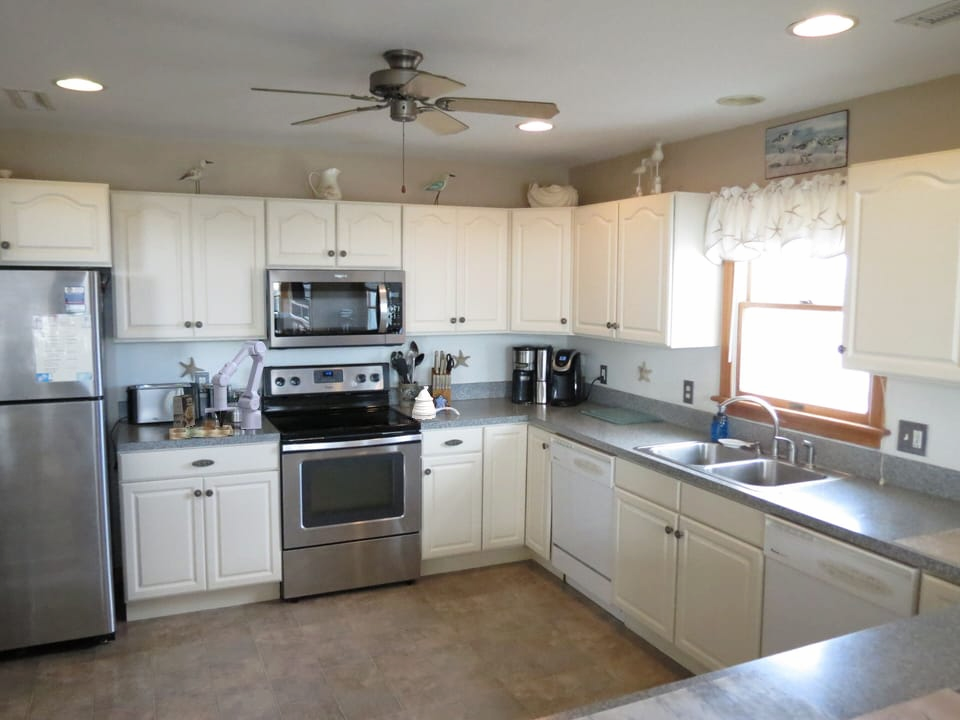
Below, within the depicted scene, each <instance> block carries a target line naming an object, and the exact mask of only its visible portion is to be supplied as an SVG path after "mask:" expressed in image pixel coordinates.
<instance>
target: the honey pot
mask: <svg viewBox="0 0 960 720" xmlns="http://www.w3.org/2000/svg"><path fill="white" fill-rule="evenodd" d="M423 388H424V389H422V390H421V391H419V393H418V395H417V397H414V400H415V401H414V404H413V409H412V410H411V419H412V418H415V419H422V420H425V419H432V418H435V417H436V416H437V410H436V408H435V404H434V402H433V400H434V398H433V397H432V396H431V394H430V393H429V391H428V389H429V386H426V385H425V386H423Z"/></svg>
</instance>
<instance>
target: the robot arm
mask: <svg viewBox="0 0 960 720" xmlns="http://www.w3.org/2000/svg"><path fill="white" fill-rule="evenodd" d="M266 351H267V346H266V344H265V343H264V342H263V341H260V340H259V341H258V340H250V339H248V340H246V341H245V342H244V343H243V344H242V345H241V349H240V350H239V351H238V353H237V354H236V355H235V357H234V358H233V359H232V360H231V361H228V362H227V363H225V364H224V366H223V367H222V368H221V369H220V370H219V371H218V373H215V374H214V375H213V376H212V378H211V380H210V381H211V384H212V386H213V394H214V395H213V401H214V402H213V404H214V407H205V408H204V414H206V413H207V414H208V413H214V414H215V417H216V419H217V421H218V426H220V427H223V425H224V422H225V419H226V417H227V413H228V412H238V408H237V406H228V400H227V399H228V393H227V389H228V387H227V386H228V385H229V383H230V380H231V378H232V377H233V375H235V373H236V372H237V371H238V367H239V365H240V364H242V362H243V361H244V360H245V359H246V358H247V357H248V356H250V357H251V359H252V361H253V362H252V366H251V370H250V373H249V377H248V381H247V384H246V389H245V390H244V391H243V392H241V396H240V398H238V401H237V405H238V407H239V409H240V414H241V425H240V426H239V427H240V429H241V430H242V429H246V430H259V429H262V413H261V412H262V411H261V410H258V409H259V407H260V399H261V398H260V395H259V394H258V391H259V387H260V382H261V378H262V374H263V370H264V366H265V363H266Z"/></svg>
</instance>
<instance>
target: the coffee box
mask: <svg viewBox="0 0 960 720" xmlns="http://www.w3.org/2000/svg"><path fill="white" fill-rule="evenodd" d="M172 401H173V402H172V404H173V405H172V410H173V413H172V416H173V428H187V427H190V426H192V427H194V426H193V425H195V426H196V423H195V421H196V420H195V394H179V395H175V396H172Z"/></svg>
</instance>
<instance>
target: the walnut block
mask: <svg viewBox="0 0 960 720" xmlns="http://www.w3.org/2000/svg"><path fill="white" fill-rule="evenodd" d="M215 426H216V420H215V419H207V420H206V419H205V420H204V427H205V430H215Z"/></svg>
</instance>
